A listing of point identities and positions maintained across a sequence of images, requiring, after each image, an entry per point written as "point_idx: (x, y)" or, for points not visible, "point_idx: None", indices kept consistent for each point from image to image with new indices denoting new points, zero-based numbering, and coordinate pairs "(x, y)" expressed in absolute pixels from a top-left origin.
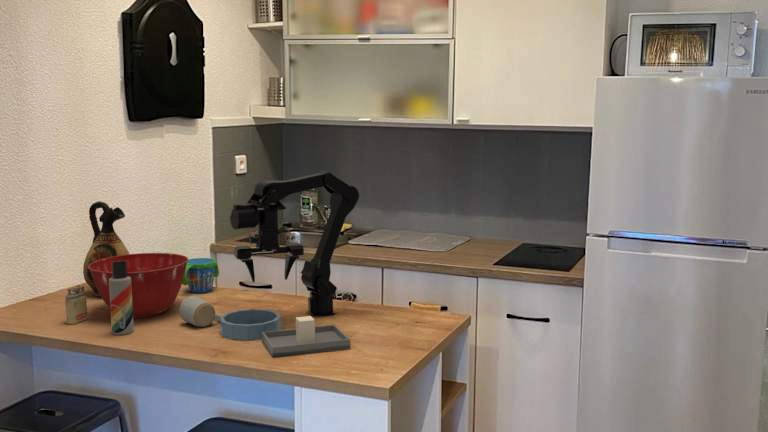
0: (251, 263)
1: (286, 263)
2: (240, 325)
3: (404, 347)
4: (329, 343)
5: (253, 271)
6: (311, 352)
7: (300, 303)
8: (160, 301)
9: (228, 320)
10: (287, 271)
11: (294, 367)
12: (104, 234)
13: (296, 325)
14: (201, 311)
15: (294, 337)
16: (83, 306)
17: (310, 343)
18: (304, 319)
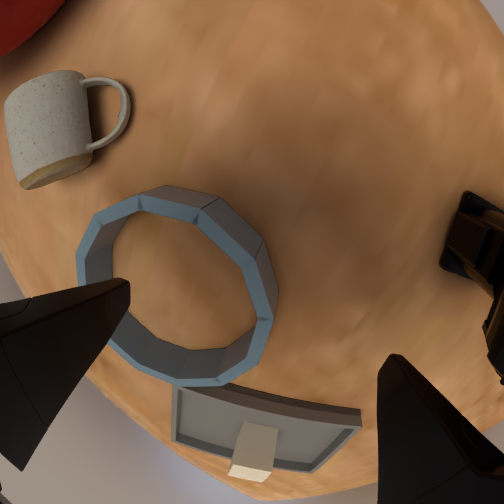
0: (24, 441)
1: (417, 486)
2: (119, 354)
3: (376, 470)
4: (275, 465)
5: (70, 385)
6: None
7: (482, 80)
8: (11, 42)
9: (114, 222)
10: (384, 447)
11: (195, 456)
12: None
13: (236, 451)
14: (36, 185)
15: (249, 411)
16: None
17: None
18: (244, 475)
